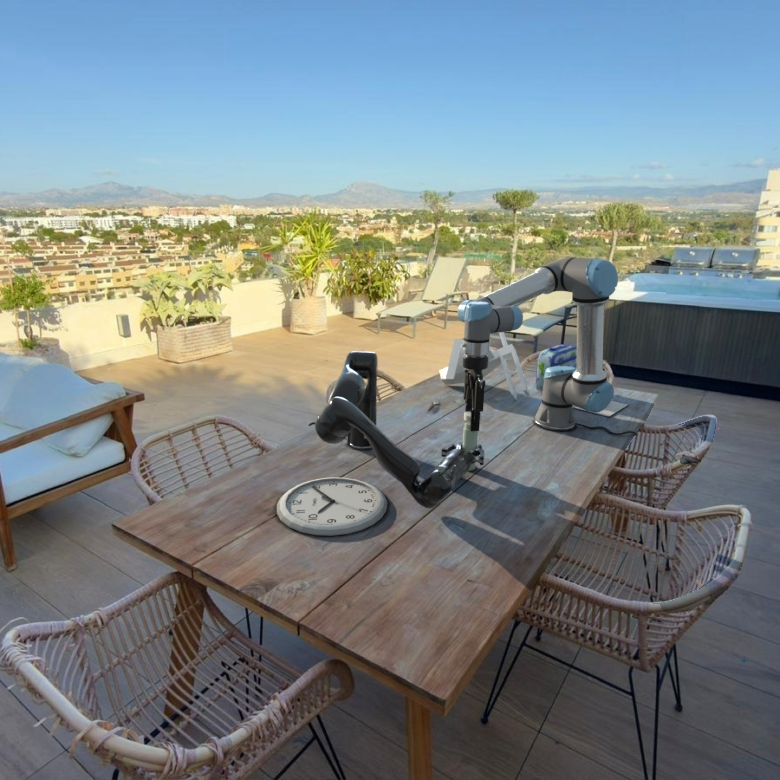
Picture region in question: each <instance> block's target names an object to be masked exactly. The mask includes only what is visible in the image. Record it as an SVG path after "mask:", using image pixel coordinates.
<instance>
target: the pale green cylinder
mask: <svg viewBox="0 0 780 780" xmlns="http://www.w3.org/2000/svg"><path fill="white" fill-rule="evenodd" d="M462 430H463V432H462V433H463V434H462V442H463V445H462V450H465V451H466V450H467V451H468V450H470V449H475V448H476V447H477V445H478V438H479V437H478V435H479V431H470V422H465V421H464V426H463V429H462ZM476 463H477V462H475V463H474V464H471V466H470V468H469V469H468V470H467V472H468V471H475V470H476Z"/></svg>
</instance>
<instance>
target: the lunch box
mask: <svg viewBox="0 0 780 780" xmlns="http://www.w3.org/2000/svg"><path fill="white" fill-rule="evenodd" d="M555 366H570V367H575V368H576V369H577V346H572V345H566V344H559V345H555V346H552V347H549V348H547V349H544V350H542V351H541V352H540V353H539V355H538V357H537V362H536V374H535V389H536V390H537V391H541V392H542V391H543V380H544V379H543V378H544V375H545V370H546V369H547V368H549V367H555Z"/></svg>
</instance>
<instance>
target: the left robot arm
mask: <svg viewBox="0 0 780 780" xmlns="http://www.w3.org/2000/svg"><path fill="white" fill-rule="evenodd" d="M378 369H379V358H378V354H377V353H376V352H375V351H360V350H359V351H357V350H353V351H350V352H348V353H347V355H346V356H345V359H344V363H343V365H342V369H341V371H340V374H339V376H338V377H337V379H336V381H335V383H334V385H333V387H332V390H331V392H330V394H329V397H328V400H327V402H326V405H325V406H324V408H323V409H322V410H321V411H320V413H319V414H318V416H317V417H316V418H315V420H314V421H312V422H310V423H309V424H308V426H309V427H311V426H312V425H314V428H315V432H316V434H317V435H318V436H317V437H318V438H320V439H321V440H322V441H323V442H324V443H327V444H331V445H335V444H340V443H341V442H343V441H344V440H345V439H346V440H347V446H350V447H351V448H353V449H355V450H370V449H371V450H372V452H373V454H374V457H375V459H376V461H377V464H378V465H379V466H380V467H381V468H382V469H383V470H384V471H385V472H386V473H388V474H389V475H390V476H392V477H393V478H394V479H395V480H397V481H398V482H399V483H401V484H402V485H403V487H404V488H405V489H406V491H407V492H408V493H409V494H410V495H411V496H412V498H413V499H414V501H416V503H417V504H418V505H419V506H421V507H422V508H426V509H434V508H435V507H436V506H437V505H439V504H440V503H441V502H442V501H443V500H444V499H445V498H446V497H447V496H448V495H449V494H450V493H452V491H453V489H454V488H455V485H456V484H457V482H458V481H460V480H461V479H462V478H463V477H464V475H465V474H466V473H467V472H468V469H469V468H470V466H471V464H474V463H475V462H476V463H477V464H479V465H480V466H484V465H485V462H484V461H485V449H483V445H482V443H481V444H480V443H477V447H476V448H475V449H470V450H468V451H467V450H466V451H465V450H462V445H463V441H460V442H459V443H457V444H454V443H451V444H448V445H446V446H444V447H441V457H442V459H441V460H440V462H439V463H438V465H437V466H436V467H435V468H434V469H433V470H432V472H431V473H430V474H429V475H427V477H426V478H424V480H422V481H421V480H420V479H419V475H420V473H421V471H422V465H421V464H420V462H418V460H416V459H415V458H413V457H412V456H411V455H409V454H408V453H407V452H405V451H404V450H403V449H401V448H400V447H399V446H397V444H395V443H394V442H393V441H392V440H391V439H390V438H389V437H388V436H386V434H385V433H384V432H383V431H382V430H381V429H380V428H379V427H378V426H377V415H378V414H377V405H378V403H377V402H378V401H377V399H378V396H377V395H378V392H377V390H378V389H377V388H378V387H377V386H378ZM365 380H366V382H365Z"/></svg>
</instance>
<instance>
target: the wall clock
mask: <svg viewBox="0 0 780 780" xmlns="http://www.w3.org/2000/svg"><path fill="white" fill-rule="evenodd" d="M387 509H388V500H387V498H386V496H385V494H384V493H383V492H382V491H381V490H380V489H379V488H377V487H376V486H374V485H372V484H371V483H369V482H365V481H362V480H359V479H355V478H349V477H338V476H337V477H335V476H333V477H332V476H331V477H322V478H317V479H312V480H307V481H305V482H302V483H299V484H297V485H295V486H293V487H292V488H290V489H288V490H287V491H286V492H285V493H284V494H283V495H281V496H280V498H279V499H278V502H277V503H276V515H277V517H278V518H279V520H280V521H281V522H282V523H283V524H285V525H286V526H287V527H288V528H290V529H293V530H295V531H297V532H299V533H303V534H308V535H312V536H327V537H328V536H329V537H331V536H332V537H333V536H342V535H350V534H352V533H356V532H361V531H363V530H366V529H368V528H369V527H372V526H373V525H375V524H376V523H378V522H379V521H380V520H381V519H382V518H383V517H384V516H385V514H386V512H387Z"/></svg>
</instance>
